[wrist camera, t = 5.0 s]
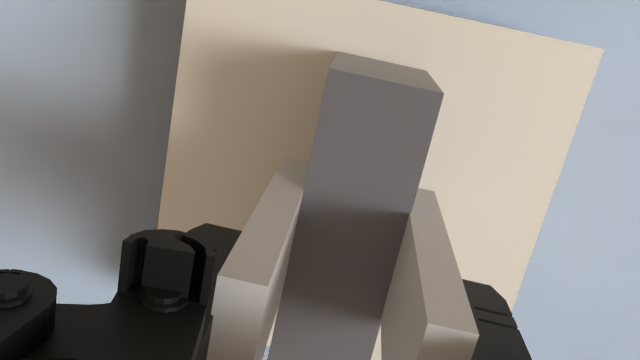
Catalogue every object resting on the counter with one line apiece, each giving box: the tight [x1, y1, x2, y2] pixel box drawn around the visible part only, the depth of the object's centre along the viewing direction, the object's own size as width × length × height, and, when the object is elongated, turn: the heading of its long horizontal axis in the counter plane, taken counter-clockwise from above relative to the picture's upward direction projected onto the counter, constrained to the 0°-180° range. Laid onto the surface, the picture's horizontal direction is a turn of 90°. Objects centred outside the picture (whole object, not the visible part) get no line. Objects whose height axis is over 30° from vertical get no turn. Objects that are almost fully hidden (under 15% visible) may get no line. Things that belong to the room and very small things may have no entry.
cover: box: [157, 0, 604, 360], centre depth 15 cm, size 11×11×5 cm
